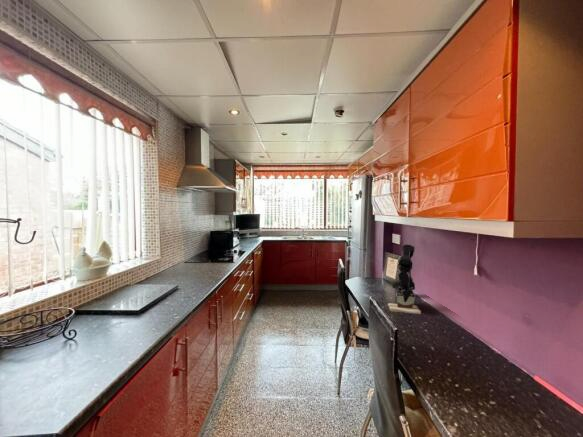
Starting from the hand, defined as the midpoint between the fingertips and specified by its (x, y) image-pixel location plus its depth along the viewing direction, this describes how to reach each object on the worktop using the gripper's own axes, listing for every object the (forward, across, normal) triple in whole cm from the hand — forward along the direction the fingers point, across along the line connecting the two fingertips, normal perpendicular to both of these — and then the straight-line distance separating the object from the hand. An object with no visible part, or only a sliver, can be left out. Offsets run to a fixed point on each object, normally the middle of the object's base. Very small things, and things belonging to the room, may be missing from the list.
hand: (404, 300), depth 174 cm
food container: (+4, -1, 0) cm, 5 cm away
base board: (+6, 0, 0) cm, 6 cm away
